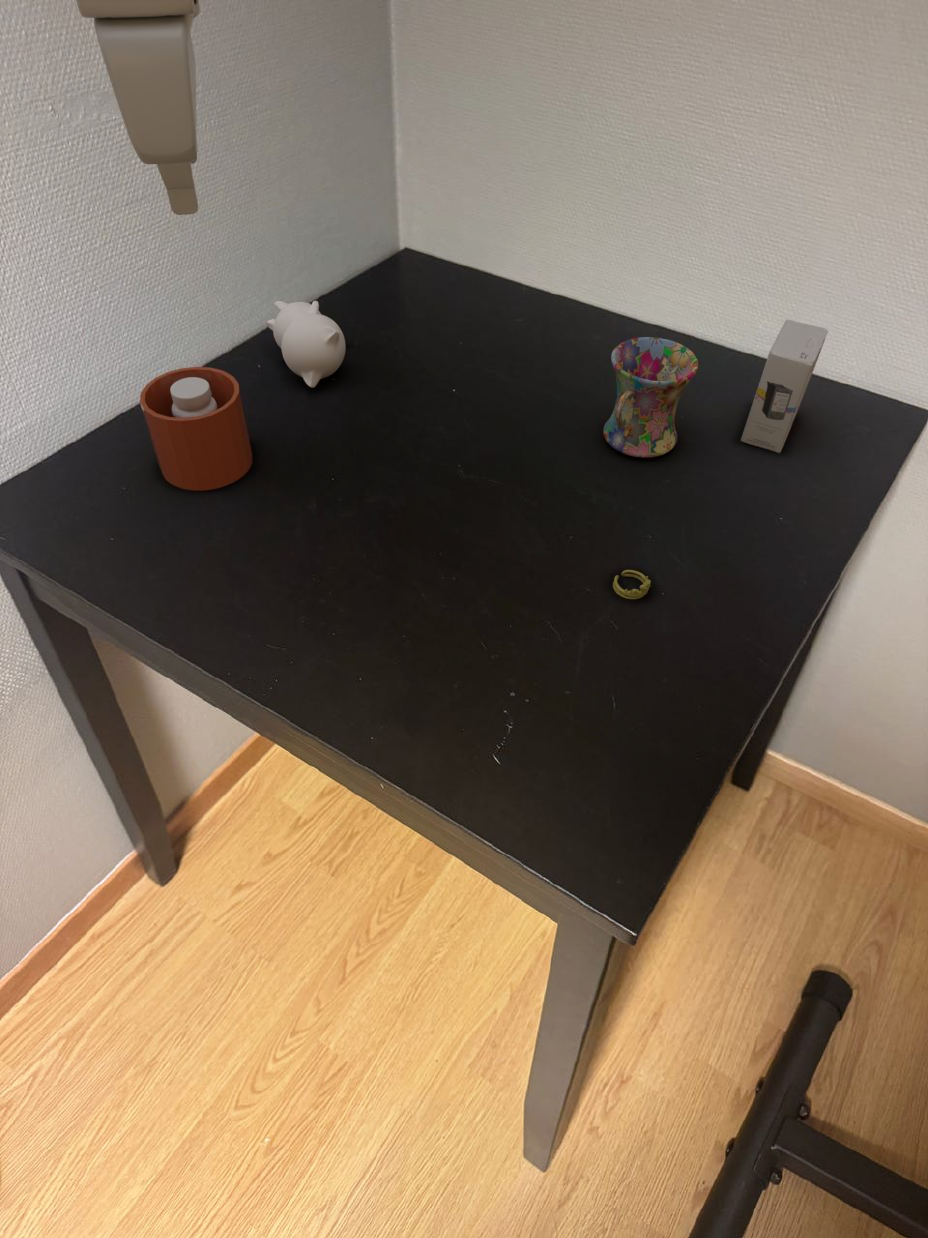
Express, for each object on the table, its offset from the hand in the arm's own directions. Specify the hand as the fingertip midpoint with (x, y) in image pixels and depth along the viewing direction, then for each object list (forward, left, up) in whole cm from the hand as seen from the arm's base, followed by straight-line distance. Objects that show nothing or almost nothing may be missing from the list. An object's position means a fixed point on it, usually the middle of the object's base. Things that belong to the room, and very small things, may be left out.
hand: (186, 184), depth 63 cm
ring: (+35, -15, -34) cm, 51 cm away
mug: (+43, +7, -34) cm, 55 cm away
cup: (-5, +13, -34) cm, 37 cm away
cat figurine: (+9, +31, -34) cm, 47 cm away
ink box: (+60, +7, -34) cm, 69 cm away
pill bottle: (-5, +14, -34) cm, 36 cm away
